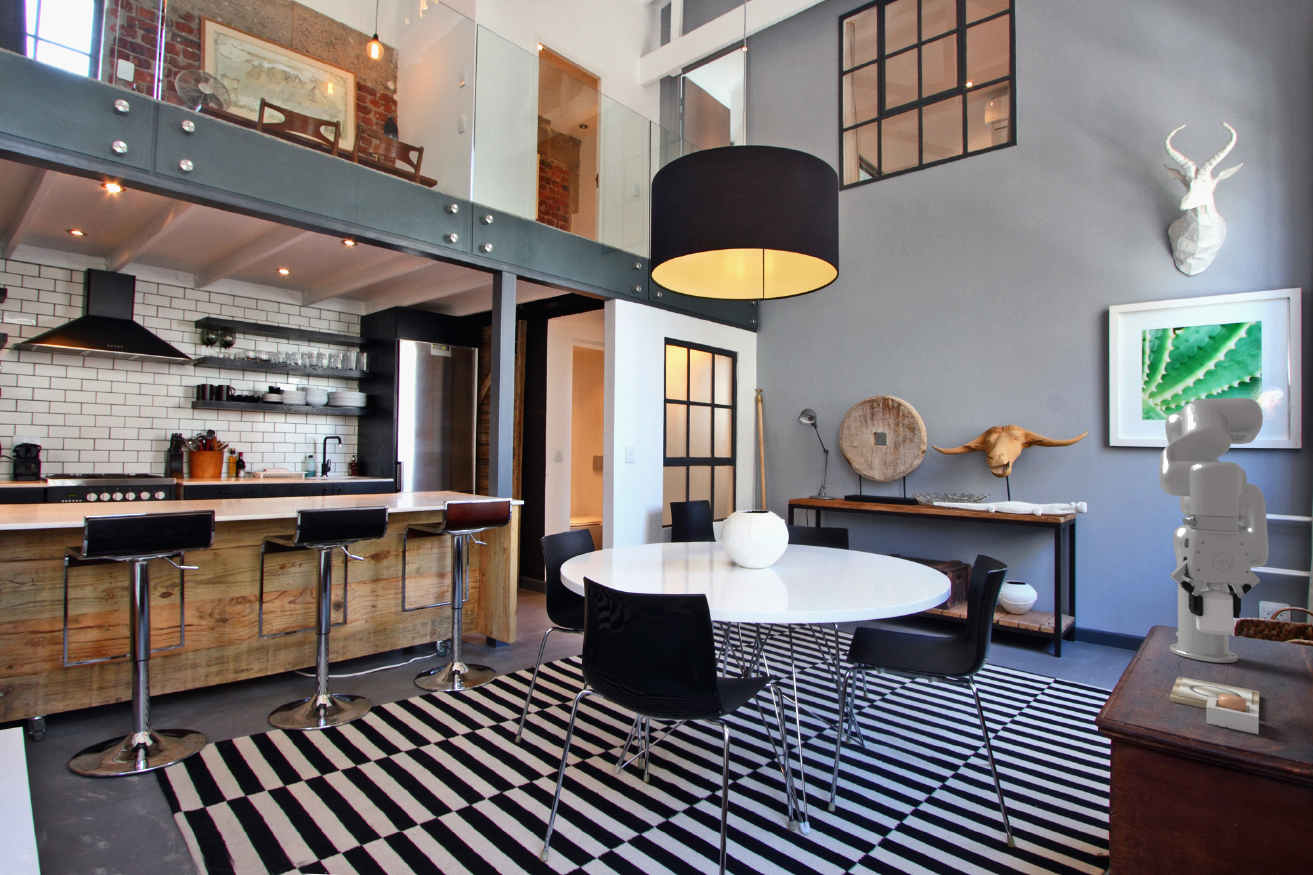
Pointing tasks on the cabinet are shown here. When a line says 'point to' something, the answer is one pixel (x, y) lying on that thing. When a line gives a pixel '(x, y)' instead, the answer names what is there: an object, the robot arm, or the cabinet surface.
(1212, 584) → the eye dropper bottle
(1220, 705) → the button
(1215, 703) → the button housing
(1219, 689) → the cream flat rectangular panel
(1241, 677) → the cabinet surface
